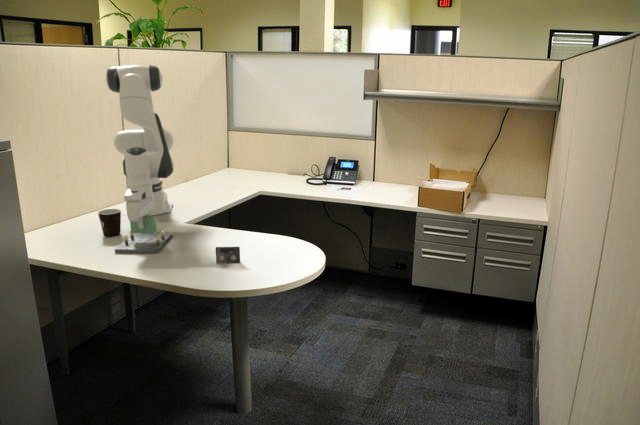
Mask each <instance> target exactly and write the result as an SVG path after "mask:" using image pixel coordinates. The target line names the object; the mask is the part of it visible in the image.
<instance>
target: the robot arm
mask: <svg viewBox="0 0 640 425" xmlns="http://www.w3.org/2000/svg"><path fill="white" fill-rule="evenodd" d="M105 81H106V82H105V83H106V84H107V87H108V89H109V91H112V92H113V93H118V94H119V96H118V97H119V100H118V101H119V107H120V108H119V109H120V113H121V115H122V117H123V119H125V120H126V121H127V122H128V123H130V124H133V125H135V126H138V127H140V128H142V129H140V128H138V129H126V130H120V131H117V133H116V134H115V136H114V139H113V145H114V147H115V149H116V150H117V152H119V153H120V154H122V155H123V156H125V158H124V159H123V160H122V167H123V168H122V169H123V175H124V176H126V177H127V182H126V184H127V188H126V191H125V193H124V196H123V200H124V201H125V202H126V203H125V207H126V214H127V219H128V221H129V222H130V221H137V223H138V227H139V228H143V227H144V223H143V217H144V216H157V215H162V214H168V213H171V212H172V209H173V205H174V204H173V202H171V201H169V200H168V194H167V193H166V192H165V191H164V190H163V180H161V179H167V178H168V177H170V176H171V175H172V174H173V172H174V169H175V168H174V166H175V164H174V161H173V158H172V156H171V154H170V151H171V149H172V148H173V146H174V137H173V135H172V133H171V132H170V131H169V130H167V129H166V128H164V127H163V125H162V122H161V118H160V116H159V114H158V113H156V112H155V111H154V105H153V96H152V93H153V92H156V91H159V90H160V89H161V87H162V85H163V75H162V71H161V70H160V68H159V67H158V66H156V65H151V64H150V65H143V64H132V65H131V64H130V65H121V66H117V65H115V66H114V65H113V66H111V67H109V68H108V69H107V70H106V74H105Z"/></svg>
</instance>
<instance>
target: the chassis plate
mask: <svg viewBox="0 0 640 425" xmlns="http://www.w3.org/2000/svg"><path fill="white" fill-rule="evenodd" d="M173 237H174V232H165V230H160V232H155V233H131V230H129V235H128V234H127V235H124V236H123V238H124V240H123V241H122V243H120V244H119V245H118V246H116V248H114V253H115V254H159V253H160V252H161V250H162V249H163V248H164V247H165V246H166V245H167V244H168V243H169V242H170V240H172V238H173Z"/></svg>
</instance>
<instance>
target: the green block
mask: <svg viewBox="0 0 640 425" xmlns="http://www.w3.org/2000/svg"><path fill="white" fill-rule="evenodd" d="M129 223H130V224H129V225H130V231H131V233H157V231H158V228H157V215H150V216H144V217H143V223H144V227H143V228H139V227H138V223H137V221H129Z"/></svg>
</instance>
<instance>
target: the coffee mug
mask: <svg viewBox="0 0 640 425" xmlns="http://www.w3.org/2000/svg"><path fill="white" fill-rule="evenodd" d="M97 213H98V218H99V222H100V225H101V226H100V227H101V230H102V235H103V237H104V238H117V237H119V236H121V229H122V228H121V224H122V223H121V219H122V218H121V217H122V216H121V214H122V210H121V209H119V208H107V209H102V210H99V211H98V212H97Z"/></svg>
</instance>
